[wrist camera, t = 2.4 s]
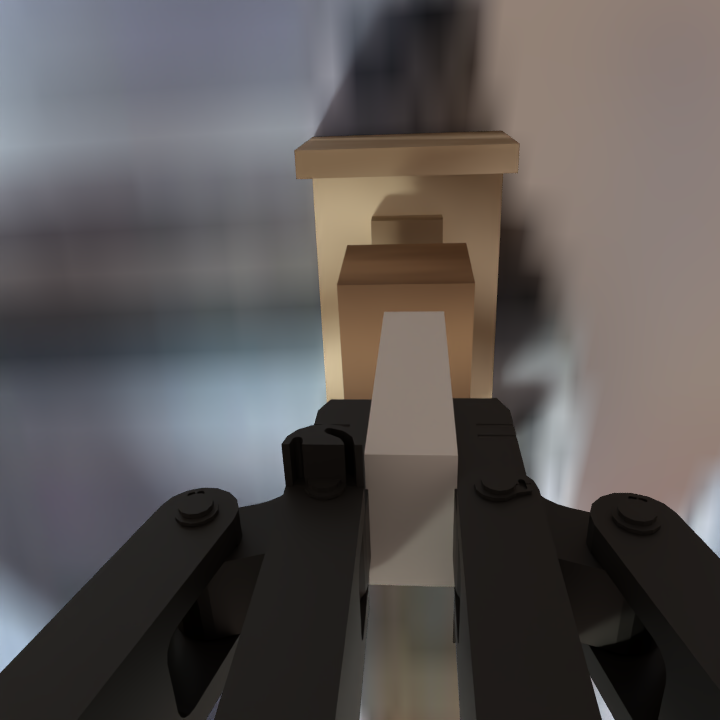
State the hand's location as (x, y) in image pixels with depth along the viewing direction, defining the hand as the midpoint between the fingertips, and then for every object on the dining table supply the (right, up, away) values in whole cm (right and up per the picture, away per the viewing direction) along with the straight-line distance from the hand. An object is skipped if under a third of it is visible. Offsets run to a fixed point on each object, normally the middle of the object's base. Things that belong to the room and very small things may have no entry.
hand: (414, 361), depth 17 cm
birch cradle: (+1, +2, +15) cm, 15 cm away
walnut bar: (+1, 0, +11) cm, 11 cm away
